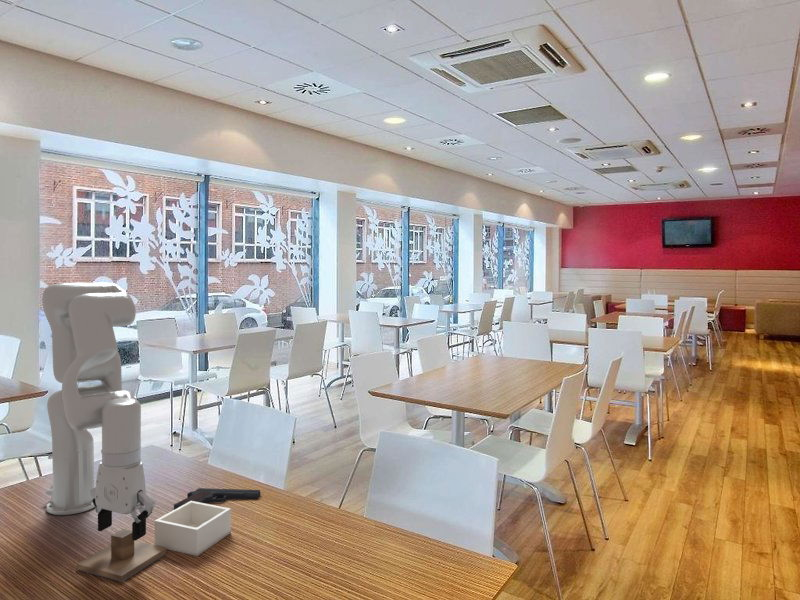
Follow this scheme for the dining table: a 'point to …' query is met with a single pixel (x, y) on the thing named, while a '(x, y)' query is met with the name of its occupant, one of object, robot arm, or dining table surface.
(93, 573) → the mat
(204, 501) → the handgun
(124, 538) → the lid
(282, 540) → the dining table surface
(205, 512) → the box
